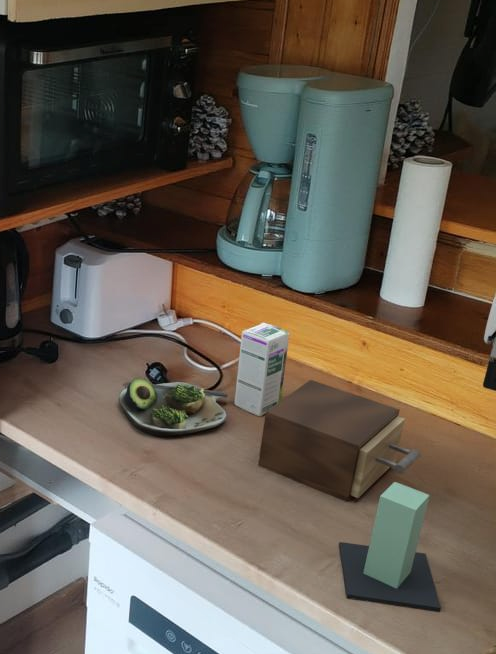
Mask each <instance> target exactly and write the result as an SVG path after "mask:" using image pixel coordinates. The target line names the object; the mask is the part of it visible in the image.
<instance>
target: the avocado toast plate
mask: <svg viewBox="0 0 496 654" xmlns="http://www.w3.org/2000/svg"><path fill="white" fill-rule="evenodd" d="M121 385H122V386H123V387H124V389H123V390H122V391H121V392H120V394H119V396H118V402H119V404H120V407H121V409H122V411H123V414H124V415H125V417H126V418H127V420H128V422H129V421H130V422H131V423H130V422H129V423H130V424H131V426H132V427H134V428H135V429H137V430H139V431H141V432H142V433H144V434H147V435H150V436H154V437H174V436H181V435H189V434H193V433H197V432H201V431H204V430H208V429H211V428H215V427H218V426H219V425H221V424H223V423H224V422H225V421H226V419H227V418H228V414H227V412H226V411H225V410H224V408H222V406H221V405H219V403H217V400H220V399H226V398H228V397H229V393H228V392H225V391H217V390H209V389H205V388H204V387H202V388H201V387H200V386H198V385H194V384H191V383H187V382H183V381H175V382H174V381H173V382H167V383H166V382H165V383H158V384H152V383H151V382H149V381H148V380H147V379H144V378H135V379H133V380H131V381H130V382H129V381H127V382H123V383H122V384H121Z"/></svg>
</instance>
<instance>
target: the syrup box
mask: <svg viewBox="0 0 496 654" xmlns="http://www.w3.org/2000/svg"><path fill="white" fill-rule="evenodd" d="M290 335H291V334H290V331H288V330H285V329H283V328H281V327H279V326H277V325H274V324H270V323H266V322H261V323H260V324H257V325H255V326H252V327H249V328H247V329H244V330H242V331H241V339H240V346H239V347H240V349H239V356H238V357H239V358H238V366H237V374H236V376H237V377H236V383H235V384H236V385H235V394H234V403H233V404H234V406H236V407H238V408H240V409H241V410H243V411H246V412H248V413H251V414H253V415H255V416H257V417H262V416H264V415H265V414H266V411H267V410H269V409H270V408H271V407H273V406H274V405H276V404H277V403H278V402H280V401H281V400H282V394H283V386H284V379H285V372H286V371H285V370H286V366H287V365H286V363H287V356H288V350H289V349H288V347H289V341H290Z"/></svg>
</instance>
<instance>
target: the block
mask: <svg viewBox="0 0 496 654" xmlns="http://www.w3.org/2000/svg"><path fill="white" fill-rule="evenodd" d="M429 500H430V494H428V493H426V492H423V491H421V490H417V489H415V488H412V487H410V486H407V485H405V484H401V483H400V482H397V481H393V482H392V483H391V485H390V486H389V487H388V488H386V490H385V491H384V492H382V494H381V495H380V496H379V500H378V505H377V509H376V514H375V519H374V522H373V527H372V532H371V537H370V541H369V545H368V546H369V550H368V554H367V559H366V563H365V568H364V574H366V575H368V576H370V577H372V578H374V579H377V580H379V581H381V582H383V583H385V584H388V585H390V586H392V587H394V588H396V589H397V588H398V587H399V586H400V584H401V583H402V582H403V581H404V580H405V578H406V577H407V576H408V575H409V574H410V572H411V568H412V564H413V560H414V556H415V552H417V547H418V544H419V540H420V535H421V532H422V527H423V524H424V520H425V516H426V511H427V507H428V503H429Z"/></svg>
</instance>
